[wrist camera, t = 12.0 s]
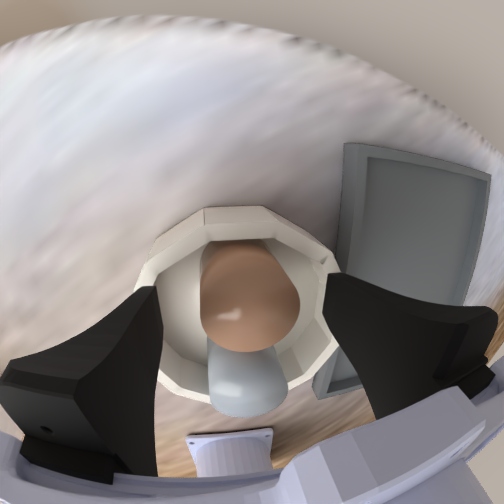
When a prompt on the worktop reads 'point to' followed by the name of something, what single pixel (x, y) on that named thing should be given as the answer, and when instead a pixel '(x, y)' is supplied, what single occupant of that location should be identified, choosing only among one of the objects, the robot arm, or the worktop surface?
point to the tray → (405, 234)
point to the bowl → (188, 293)
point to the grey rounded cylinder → (245, 381)
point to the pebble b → (245, 295)
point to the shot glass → (9, 425)
